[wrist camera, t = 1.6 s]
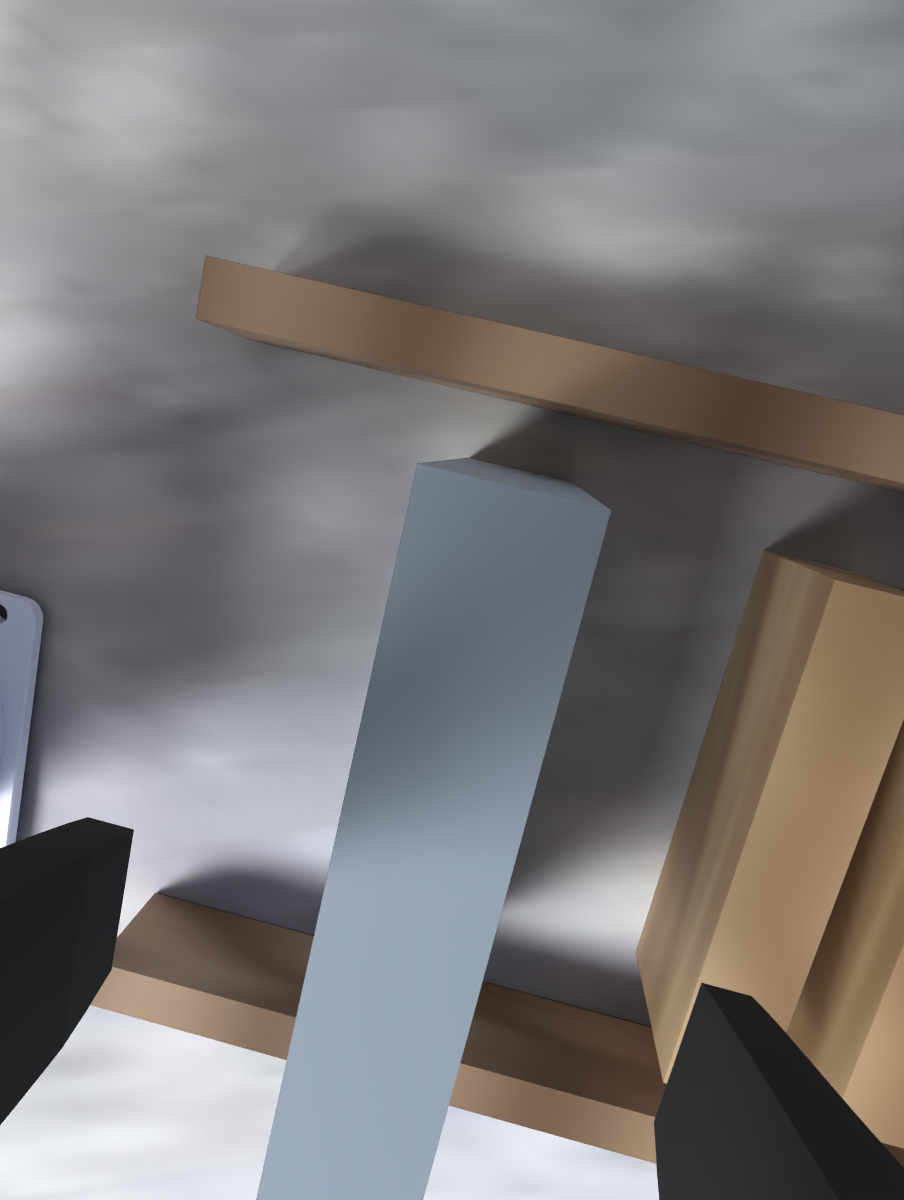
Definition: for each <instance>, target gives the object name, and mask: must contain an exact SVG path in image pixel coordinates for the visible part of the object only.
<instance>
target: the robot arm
mask: <svg viewBox="0 0 904 1200" xmlns="http://www.w3.org/2000/svg"><path fill="white" fill-rule="evenodd" d="M0 604H1V605H3V606H4V607H5V609H6V610H7V615H8V617H7V619H6V620H5V619H3V618H2V617H1V615H0V1125H1V1124H2V1122H3V1121H4V1120H5V1119H6V1117H7V1116H8V1115H9V1114H10V1112H11V1111H12V1110H13V1109H14V1108H15V1106H16V1105H17V1104H18V1103H19V1101H20V1100H21V1099H22V1098H23V1096H24V1095H25V1094H26V1093H27V1091H28V1090H29V1089H30V1088H31V1086H32V1085H33V1084H34V1083H35V1081H36V1080H37V1079H38V1078H39V1076H40V1075H41V1074H42V1073H43V1071H44V1070H45V1069H46V1068H47V1066H48V1065H49V1064H50V1063H51V1061H52V1060H53V1059H54V1057H55V1056H56V1055H57V1054H58V1052H59V1051H60V1050H61V1049H62V1047H63V1046H64V1044H65V1043H66V1041H67V1040H68V1038H69V1037H70V1035H71V1034H72V1032H73V1031H74V1029H75V1027H76V1026H77V1024H78V1023H79V1021H80V1020H81V1018H82V1017H83V1015H84V1014H85V1012H86V1011H87V1009H88V1007H89V1006H90V1004H91V1003H92V1001H93V999H94V998H95V996H96V994H97V993H98V991H99V990H100V988H101V986H102V985H103V983H104V982H105V980H106V978H107V977H108V975H109V973H110V972H111V970H112V964H113V957H114V951H115V945H116V939H117V932H118V926H119V920H120V913H121V907H122V901H123V895H124V888H125V882H126V876H127V869H128V863H129V857H130V851H131V844H132V838H133V832H134V830H133V829H130V828H126V827H122V826H118V825H115V824H111V823H107V822H104V821H100V820H96V819H92V818H89V817H87V818H84V819H81V820H77V821H74V822H71V823H68V824H65V825H62V826H59V827H56V828H53V829H50V830H47V831H45V832H42V833H39V834H36V835H34V836H31V837H28V838H26V839H23V840H20V841H18V842H16V834H17V826H18V818H19V810H20V802H21V794H22V786H23V778H24V770H25V762H26V754H27V746H28V738H29V730H30V722H31V714H32V706H33V698H34V690H35V682H36V674H37V666H38V658H39V650H40V642H41V634H42V626H43V612H42V610H41V608H40V606H39V605H38V604H37V603H36V602H35V601H34V600H32V599H30V598H28V597H25V596H21V595H17V594H13V593H9V592H5V591H1V590H0ZM654 1132H655V1148H656V1163H657V1177H658V1189H659V1200H904V1167H903V1166H902V1165H901V1164H900V1163H899V1162H898V1161H897V1160H896V1158H895V1157H894V1156H893V1155H892V1154H891V1153H890V1152H889V1151H888V1150H887V1148H886V1147H885V1146H884V1145H883V1144H882V1143H881V1142H880V1141H879V1139H878V1138H877V1137H876V1136H875V1135H874V1134H873V1133H872V1131H871V1130H870V1129H869V1128H868V1127H867V1126H866V1125H865V1124H864V1122H863V1121H862V1120H861V1119H860V1118H859V1117H858V1116H857V1114H856V1113H855V1112H854V1111H853V1110H852V1109H851V1108H850V1106H849V1105H848V1104H847V1103H846V1102H845V1101H844V1099H843V1098H842V1097H841V1096H840V1095H839V1094H838V1093H837V1091H836V1090H835V1089H834V1088H833V1087H832V1086H831V1084H830V1083H829V1082H828V1081H827V1080H826V1079H825V1078H824V1076H823V1075H822V1074H821V1073H820V1072H819V1071H818V1069H817V1068H816V1067H815V1066H814V1065H813V1064H812V1062H811V1061H810V1060H809V1059H808V1058H807V1057H806V1055H805V1054H804V1053H803V1052H802V1051H801V1050H800V1048H799V1047H798V1046H797V1045H796V1044H795V1043H794V1042H793V1040H792V1039H791V1038H790V1037H789V1036H788V1035H787V1034H786V1032H785V1031H784V1030H783V1029H782V1028H781V1027H780V1026H779V1024H778V1023H777V1022H776V1021H775V1020H774V1019H773V1018H772V1017H771V1016H770V1014H769V1013H768V1012H767V1011H766V1010H765V1009H764V1008H763V1007H762V1006H761V1005H760V1004H759V1003H758V1002H757V1001H756V1000H755V999H754V998H753V997H752V996H750V995H746V994H742V993H739V992H735V991H731V990H727V989H724V988H720V987H716V986H713V985H709V984H705V983H701V985H700V988H699V991H698V994H697V997H696V1000H695V1003H694V1006H693V1009H692V1012H691V1015H690V1018H689V1021H688V1023H687V1026H686V1029H685V1032H684V1035H683V1038H682V1041H681V1044H680V1047H679V1050H678V1053H677V1056H676V1059H675V1062H674V1064H673V1067H672V1070H671V1073H670V1076H669V1079H668V1082H667V1085H666V1088H665V1091H664V1094H663V1097H662V1100H661V1103H660V1105H659V1108H658V1111H657V1114H656V1117H655V1120H654Z"/></svg>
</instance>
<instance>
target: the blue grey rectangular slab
mask: <svg viewBox="0 0 904 1200" xmlns="http://www.w3.org/2000/svg"><path fill="white" fill-rule="evenodd" d="M610 514H611V509H609V508H608V507H606V506H605V505H604V504H602V503H601V502H599V501H598V500H597V499H595V498H594V497H592V496H591V495H589V494H588V493H587V492H585V491H584V490H582V489H581V488H579V487H578V486H577V485H575V484H574V483H572V482H569V481H565V480H561V479H557V478H552V477H548V476H544V475H540V474H536V473H531V472H527V471H523V470H519V469H515V468H510V467H506V466H502V465H498V464H494V463H489V462H485V461H481V460H477V459H473V458H463V459H454V460H445V461H436V462H428V463H419V464H417V467H416V472H415V477H414V481H413V486H412V490H411V495H410V499H409V504H408V509H407V513H406V518H405V522H404V527H403V531H402V536H401V541H400V545H399V550H398V554H397V559H396V563H395V568H394V573H393V577H392V582H391V586H390V591H389V595H388V600H387V605H386V609H385V614H384V618H383V623H382V627H381V632H380V637H379V641H378V646H377V650H376V655H375V659H374V664H373V669H372V673H371V678H370V682H369V687H368V691H367V696H366V701H365V705H364V710H363V714H362V719H361V723H360V728H359V733H358V737H357V742H356V746H355V751H354V755H353V760H352V765H351V769H350V774H349V778H348V783H347V787H346V792H345V797H344V801H343V806H342V810H341V815H340V819H339V824H338V829H337V833H336V838H335V842H334V847H333V851H332V856H331V861H330V865H329V870H328V874H327V879H326V883H325V888H324V893H323V897H322V902H321V906H320V911H319V915H318V920H317V925H316V929H315V934H314V938H313V943H312V947H311V952H310V956H309V961H308V966H307V970H306V975H305V979H304V984H303V988H302V993H301V998H300V1002H299V1007H298V1011H297V1016H296V1020H295V1025H294V1030H293V1034H292V1039H291V1043H290V1048H289V1052H288V1057H287V1062H286V1066H285V1071H284V1075H283V1080H282V1084H281V1089H280V1094H279V1098H278V1103H277V1107H276V1112H275V1116H274V1121H273V1126H272V1130H271V1135H270V1139H269V1144H268V1148H267V1153H266V1158H265V1162H264V1167H263V1171H262V1176H261V1180H260V1185H259V1190H258V1194H257V1199H256V1200H423V1197H424V1194H425V1190H426V1186H427V1183H428V1179H429V1175H430V1172H431V1168H432V1164H433V1161H434V1157H435V1154H436V1150H437V1146H438V1143H439V1139H440V1135H441V1132H442V1128H443V1124H444V1121H445V1117H446V1113H447V1110H448V1106H449V1102H450V1099H451V1095H452V1091H453V1088H454V1084H455V1080H456V1077H457V1073H458V1069H459V1066H460V1062H461V1058H462V1055H463V1051H464V1048H465V1044H466V1040H467V1037H468V1033H469V1029H470V1026H471V1022H472V1018H473V1015H474V1011H475V1007H476V1004H477V1000H478V996H479V993H480V989H481V985H482V982H483V978H484V974H485V971H486V967H487V963H488V960H489V956H490V952H491V949H492V945H493V942H494V938H495V934H496V931H497V927H498V923H499V920H500V916H501V912H502V909H503V905H504V901H505V898H506V894H507V890H508V887H509V883H510V879H511V876H512V872H513V868H514V865H515V861H516V857H517V854H518V850H519V846H520V843H521V839H522V836H523V832H524V828H525V825H526V821H527V817H528V814H529V810H530V806H531V803H532V799H533V795H534V792H535V788H536V784H537V781H538V777H539V773H540V770H541V766H542V762H543V759H544V755H545V751H546V748H547V744H548V740H549V737H550V733H551V730H552V726H553V722H554V719H555V715H556V711H557V708H558V704H559V700H560V697H561V693H562V689H563V686H564V682H565V678H566V675H567V671H568V667H569V664H570V660H571V656H572V653H573V649H574V645H575V642H576V638H577V634H578V631H579V627H580V624H581V620H582V616H583V613H584V609H585V605H586V602H587V598H588V594H589V591H590V587H591V583H592V580H593V576H594V572H595V569H596V565H597V561H598V558H599V554H600V550H601V547H602V543H603V539H604V536H605V532H606V528H607V525H608V521H609V518H610Z"/></svg>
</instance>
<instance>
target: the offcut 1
mask: <svg viewBox="0 0 904 1200" xmlns="http://www.w3.org/2000/svg"><path fill="white" fill-rule="evenodd" d="M903 720H904V591H902V590H900V589H897V588H894V587H892V586H889V585H886V584H884V583H881V582H878V581H876V580H873V579H870V578H868V577H865V576H862V575H860V574H857V573H854V572H852V571H849V570H845V569H841V568H837V567H833V566H828V565H824V564H820V563H816V562H812V561H808V560H803V559H799V558H795V557H791V556H787V555H783V554H779V553H774V552H770V551H766V550H764V552H763V555H762V558H761V561H760V564H759V568H758V571H757V574H756V577H755V580H754V583H753V586H752V590H751V593H750V596H749V599H748V602H747V605H746V608H745V611H744V615H743V618H742V621H741V624H740V627H739V630H738V633H737V637H736V640H735V643H734V646H733V649H732V652H731V655H730V658H729V662H728V665H727V668H726V671H725V674H724V677H723V680H722V684H721V687H720V690H719V693H718V696H717V699H716V702H715V705H714V709H713V712H712V715H711V718H710V721H709V724H708V727H707V731H706V734H705V737H704V740H703V743H702V746H701V749H700V752H699V756H698V759H697V762H696V765H695V768H694V771H693V774H692V778H691V781H690V784H689V787H688V790H687V793H686V796H685V799H684V803H683V806H682V809H681V812H680V815H679V818H678V821H677V825H676V828H675V831H674V834H673V837H672V840H671V843H670V846H669V850H668V853H667V856H666V859H665V862H664V865H663V868H662V872H661V875H660V878H659V881H658V884H657V887H656V890H655V893H654V897H653V900H652V903H651V906H650V909H649V912H648V915H647V919H646V922H645V925H644V928H643V931H642V934H641V937H640V940H639V944H638V947H637V950H636V957H637V961H638V966H639V971H640V975H641V980H642V985H643V989H644V994H645V999H646V1004H647V1008H648V1013H649V1018H650V1022H651V1027H652V1032H653V1037H654V1041H655V1046H656V1051H657V1055H658V1060H659V1065H660V1070H661V1074H662V1079H663V1083H666V1084H667V1082H668V1079H669V1076H670V1073H671V1070H672V1067H673V1064H674V1062H675V1059H676V1056H677V1053H678V1050H679V1047H680V1044H681V1041H682V1038H683V1035H684V1032H685V1029H686V1026H687V1023H688V1021H689V1018H690V1015H691V1012H692V1009H693V1006H694V1003H695V1000H696V997H697V994H698V991H699V988H700V985H701V983H705V984H709V985H713V986H716V987H720V988H724V989H727V990H731V991H735V992H739V993H742V994H746V995H750V996H752V997H753V998H754V999H755V1000H756V1001H757V1002H758V1003H759V1004H760V1005H761V1006H762V1007H763V1008H764V1009H765V1010H766V1011H767V1012H768V1013H769V1014H770V1016H771V1017H772V1018H773V1019H774V1020H775V1021H776V1022H777V1023H778V1024H779V1026H780V1027H781V1028H782V1029H783V1030H784V1031H785V1032H787V1029H788V1027H789V1024H790V1021H791V1019H792V1016H793V1013H794V1011H795V1008H796V1005H797V1003H798V1000H799V997H800V995H801V992H802V989H803V987H804V984H805V981H806V979H807V976H808V973H809V971H810V968H811V965H812V963H813V960H814V957H815V955H816V952H817V949H818V947H819V944H820V941H821V939H822V936H823V933H824V931H825V928H826V925H827V923H828V920H829V917H830V915H831V912H832V909H833V907H834V904H835V901H836V899H837V896H838V893H839V891H840V888H841V885H842V883H843V880H844V877H845V875H846V872H847V869H848V867H849V864H850V861H851V858H852V856H853V853H854V850H855V848H856V845H857V842H858V840H859V837H860V834H861V832H862V829H863V826H864V824H865V821H866V818H867V816H868V813H869V810H870V808H871V805H872V802H873V800H874V797H875V794H876V792H877V789H878V786H879V784H880V781H881V778H882V776H883V773H884V770H885V768H886V765H887V762H888V760H889V757H890V754H891V752H892V749H893V746H894V744H895V741H896V738H897V736H898V733H899V730H900V728H901V725H902V722H903Z"/></svg>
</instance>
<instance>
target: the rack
mask: <svg viewBox="0 0 904 1200" xmlns="http://www.w3.org/2000/svg"><path fill="white" fill-rule="evenodd" d="M196 318H197V319H199V320H202V321H204V322H207V323H209V324H212V325H214V326H217V327H219V328H222V329H224V330H227V331H229V332H232V333H234V334H237V335H239V336H242V337H244V338H247V339H250V340H254V341H258V342H262V343H267V344H271V345H275V346H280V347H284V348H288V349H292V350H297V351H301V352H305V353H309V354H314V355H318V356H322V357H327V358H331V359H335V360H339V361H344V362H348V363H352V364H357V365H361V366H365V367H369V368H374V369H378V370H382V371H387V372H391V373H395V374H399V375H404V376H408V377H412V378H417V379H421V380H425V381H429V382H434V383H438V384H442V385H447V386H451V387H455V388H459V389H464V390H468V391H472V392H476V393H481V394H485V395H489V396H494V397H498V398H502V399H506V400H511V401H515V402H519V403H524V404H528V405H532V406H536V407H541V408H545V409H549V410H554V411H558V412H562V413H566V414H571V415H575V416H579V417H584V418H588V419H592V420H596V421H601V422H605V423H609V424H614V425H618V426H622V427H626V428H631V429H635V430H639V431H644V432H648V433H652V434H656V435H661V436H665V437H669V438H673V439H678V440H682V441H686V442H691V443H695V444H699V445H703V446H708V447H712V448H716V449H721V450H725V451H729V452H733V453H738V454H742V455H746V456H751V457H755V458H759V459H763V460H768V461H772V462H776V463H781V464H785V465H789V466H793V467H798V468H802V469H806V470H811V471H815V472H819V473H823V474H828V475H832V476H836V477H841V478H845V479H849V480H853V481H858V482H862V483H866V484H870V485H875V486H879V487H883V488H888V489H892V490H896V491H900V492H904V415H901V414H896V413H892V412H887V411H883V410H879V409H874V408H870V407H866V406H861V405H857V404H852V403H848V402H844V401H839V400H835V399H831V398H826V397H822V396H817V395H813V394H809V393H804V392H800V391H796V390H791V389H787V388H782V387H778V386H774V385H769V384H765V383H761V382H756V381H752V380H747V379H743V378H739V377H734V376H730V375H726V374H721V373H717V372H713V371H708V370H704V369H699V368H695V367H691V366H686V365H682V364H678V363H673V362H669V361H664V360H660V359H656V358H651V357H647V356H643V355H638V354H634V353H629V352H625V351H621V350H616V349H612V348H608V347H603V346H599V345H594V344H590V343H586V342H581V341H577V340H573V339H568V338H564V337H559V336H555V335H551V334H546V333H542V332H538V331H533V330H529V329H524V328H520V327H516V326H511V325H507V324H503V323H498V322H494V321H489V320H485V319H481V318H476V317H472V316H468V315H463V314H459V313H454V312H450V311H446V310H441V309H437V308H433V307H428V306H424V305H419V304H415V303H411V302H406V301H402V300H398V299H393V298H389V297H385V296H380V295H376V294H371V293H367V292H363V291H358V290H354V289H350V288H345V287H341V286H336V285H332V284H328V283H323V282H319V281H315V280H310V279H306V278H301V277H297V276H293V275H288V274H284V273H280V272H275V271H271V270H266V269H262V268H258V267H253V266H249V265H245V264H240V263H236V262H231V261H227V260H223V259H218V258H214V257H210V256H205V262H204V269H203V275H202V282H201V288H200V295H199V301H198V308H197V314H196ZM313 938H314V936H312V935H309V934H305V933H301V932H298V931H294V930H290V929H287V928H283V927H279V926H276V925H272V924H268V923H265V922H261V921H257V920H254V919H250V918H246V917H243V916H239V915H235V914H231V913H228V912H224V911H220V910H217V909H213V908H209V907H206V906H202V905H198V904H195V903H191V902H187V901H184V900H180V899H176V898H173V897H169V896H165V895H162V894H158V893H155V894H154V895H153V896H152V897H151V898H150V900H149V901H148V902H147V903H146V904H145V906H144V907H143V908H142V909H141V910H140V912H139V913H138V914H137V915H136V916H135V917H134V919H133V920H132V921H131V922H130V923H129V925H128V926H127V927H126V928H125V929H124V930H123V932H122V933H121V934H120V935H119V936H118V938H117V939H116V945H115V951H114V957H113V964H112V970H111V972H110V973H109V975H108V977H107V978H106V980H105V982H104V983H103V985H102V986H101V988H100V990H99V991H98V993H97V994H96V996H95V998H94V999H93V1001H92V1003H91V1004H90V1005H92V1006H96V1007H99V1008H103V1009H107V1010H110V1011H114V1012H117V1013H121V1014H124V1015H128V1016H132V1017H135V1018H139V1019H142V1020H146V1021H149V1022H153V1023H156V1024H160V1025H164V1026H167V1027H171V1028H174V1029H178V1030H181V1031H185V1032H189V1033H192V1034H196V1035H199V1036H203V1037H206V1038H210V1039H214V1040H217V1041H221V1042H224V1043H228V1044H231V1045H235V1046H239V1047H242V1048H246V1049H249V1050H253V1051H256V1052H260V1053H264V1054H267V1055H271V1056H274V1057H278V1058H281V1059H285V1060H287V1057H288V1052H289V1048H290V1043H291V1039H292V1034H293V1030H294V1025H295V1020H296V1016H297V1011H298V1007H299V1002H300V998H301V993H302V988H303V984H304V979H305V975H306V970H307V966H308V961H309V956H310V952H311V947H312V943H313ZM666 1085H667V1084H666V1083H663V1079H662V1074H661V1070H660V1065H659V1060H658V1055H657V1051H656V1046H655V1041H654V1037H653V1032H652V1028H651V1027H648V1026H644V1025H640V1024H637V1023H633V1022H629V1021H625V1020H622V1019H618V1018H614V1017H611V1016H607V1015H603V1014H600V1013H596V1012H592V1011H589V1010H585V1009H581V1008H578V1007H574V1006H570V1005H567V1004H563V1003H559V1002H556V1001H552V1000H548V999H544V998H541V997H537V996H533V995H530V994H526V993H522V992H519V991H515V990H511V989H508V988H504V987H500V986H497V985H493V984H489V983H486V982H482V985H481V989H480V993H479V996H478V1000H477V1004H476V1007H475V1011H474V1015H473V1018H472V1022H471V1026H470V1029H469V1033H468V1037H467V1040H466V1044H465V1048H464V1051H463V1055H462V1058H461V1062H460V1066H459V1069H458V1073H457V1077H456V1080H455V1084H454V1088H453V1091H452V1095H451V1099H450V1102H449V1106H453V1107H456V1108H460V1109H463V1110H467V1111H471V1112H474V1113H478V1114H481V1115H485V1116H488V1117H492V1118H496V1119H499V1120H503V1121H506V1122H510V1123H513V1124H517V1125H521V1126H524V1127H528V1128H531V1129H535V1130H538V1131H542V1132H546V1133H549V1134H553V1135H556V1136H560V1137H563V1138H567V1139H570V1140H574V1141H578V1142H581V1143H585V1144H588V1145H592V1146H595V1147H599V1148H603V1149H606V1150H610V1151H613V1152H617V1153H620V1154H624V1155H628V1156H631V1157H635V1158H638V1159H642V1160H645V1161H649V1162H653V1163H656V1148H655V1132H654V1120H655V1117H656V1114H657V1111H658V1108H659V1105H660V1103H661V1100H662V1097H663V1094H664V1091H665V1088H666ZM881 1143H882V1142H881ZM882 1144H883V1145H884V1146H885V1147H886V1148H887V1150H888V1151H889V1152H890V1153H891V1154H892V1155H893V1156H894V1157H895V1158H896V1160H897V1161H898V1162H899V1163H900V1164H901V1165H902V1166H903V1167H904V1148H900V1147H896V1146H893V1145H889V1144H885V1143H882ZM656 1164H657V1163H656Z"/></svg>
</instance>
